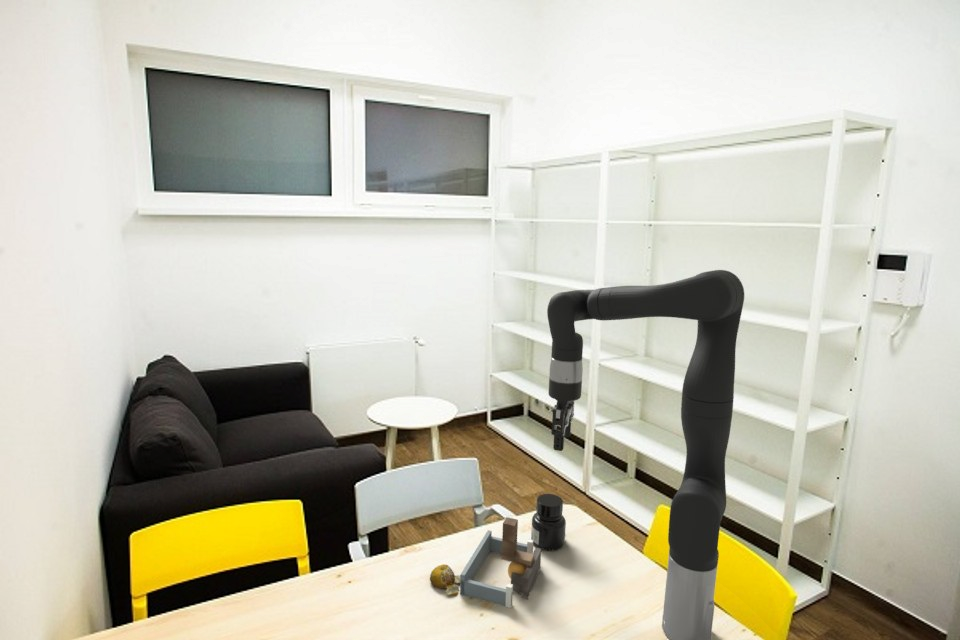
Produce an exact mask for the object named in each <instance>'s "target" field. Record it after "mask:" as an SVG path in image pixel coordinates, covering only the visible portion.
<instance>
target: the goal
mask: <svg viewBox="0 0 960 640" xmlns="http://www.w3.org/2000/svg"><path fill="white" fill-rule="evenodd" d="M517 550H518V551H522V552H527V553H531V554H533V552H534V544H533V540H531V538H530V539H529V538H528V540H527V543H523V542H519V541H517ZM490 552H494V553H497V554H502V538H500V537H497V536H493V535H492V530H490V529H489V530H486V532H485V535H484V536H483V538H482V539H481V540H480V542H479V544H478V545H477V547H476V548H475V550H474V552H473V553H472V556H471V557H470V559H469V560H468V562H467V563H466V565H465V567H464V568H463V570H462V571H461V573H460V575H459V576H460V583H459V585H460V587H459V594H460V595H461V596H465V597H469V598H473V599H475V600H476V599H477V600H480V601H484V602H488V603H491V604H496V605H498V606H503V607H504V608H505V607H506V608H508V609H511V608H512V606H513V592H514V591H513V584H511V583H508V582H507V584H506V586H505V588H503V587H499V586H496V585H492V584H487V583H484V582H481V581H477V580H476V581H475V580H474V579H475V577H476V575H477V574H478V572H479V570H480V568H481V567H482V565H483V563H484V562H485V560H486V558H487V556H488V554H489V553H490Z"/></svg>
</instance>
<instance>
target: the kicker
mask: <svg viewBox="0 0 960 640" xmlns="http://www.w3.org/2000/svg"><path fill="white" fill-rule="evenodd" d="M518 526H519V520H518V519H517V518H512V517H507V516H506V518H504V521H503V522H502V538H501V539H502V553H501V560H503V561H507V562H510V563H511V562H515V563H519V564H523V565H527V568H526V570H525V573H524V575H523V574H519V573H515V572H512V574H511V578H510V584H513V592H515V593H518V594H519V593H520V594H521V599H525V600H528V599H529V597H530V596H531V595H530V594H531V592H532V590H533V587H534V585H535V582H536V579H537V577H538V574H539V572H540V570H541V560H542V549H540V548H538V547H535V548H534V549H533V554H531V553H527V552H522V551H518V550H517V542H518V530H519V529H518V528H519V527H518Z"/></svg>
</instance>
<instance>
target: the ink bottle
mask: <svg viewBox="0 0 960 640" xmlns="http://www.w3.org/2000/svg"><path fill="white" fill-rule="evenodd" d="M563 506H564V500H563V499H562V497H561V496H559V495H557V494H553V493H543V494H540V495H539V496H537V499H536V506H535V507H536V512H535V513H534V514H533V515H532V518H531V533H530V534H531V535H530V537H531V538H530V539H531V540H533V546H534V547H535V548H540V549H541V550H544V551H549V552H550V551H551V552H552V551H557V550H560V549H562V548H563V547H564V545H565V543H566V525H567V524H566V518H565V517H564V515H563V508H564V507H563Z"/></svg>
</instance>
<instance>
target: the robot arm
mask: <svg viewBox="0 0 960 640" xmlns="http://www.w3.org/2000/svg"><path fill="white" fill-rule="evenodd" d="M744 302H745V290H744V286H743V283H742V281H741V279H740V278H739V277H738V276H737V275H736V274H735V273H733V272H731V271H729V270H726V269H715V270H709V271H703V272H700V273H698V274H696V275H692V276H690V277H687V278H684V279H681V280H676V281H672V282H669V283H663V284H662V283H661V284H655V285H620V286H618V285H617V286H609V287H600V288H596V289H578V290H577V289H575V290H569V291H562V292H557V293H555V294H553V295H552V296H551V298H550V300H549V301H548V305H547V312H546V313H547V315H546V316H547V321H548V325H549V331H550V336H551V340H552V341H551V354H550V355H551V358H550V365H549V374H548V375H549V376H548V396H549V397H550V398H551V399H554V400H555V401H556V404H555V405H553V409H552V422H551V435H553V450H554V451H558V452H562V451H563V450H564V447H565V446H564V445H565V443H564V442H565V438H570V437H571V431H572V430H571V429H572V421H573V418H574V416H575V401H578V400H579V399H580V398H581V397H582V389H583V388H582V384H583V368H584V367H583V353H584V352H583V349H584V339H583V336H582V335H581V334H580V333H578V332H577V331H576V327H575V322H579V321H580V322H581V321H585V320H586V321H587V320H596V321H616V320H617V321H620V320H632V319H633V320H634V319H640V318H641V319H642V318H644V319H645V318H655V317H656V318H677V319H685V320H694V321H697V332H696V333H697V334H696V341H695V345H694V349H693V352H692V355H691V356H690V357H691V358H690V361H689V364H688V366H687V368H686V369H687V370H686V371H685V376H684V379H683V383H682V390H681V392H682V393H681V407H680V419H681V427H682V433H683V437H684V441H685V447H686V448H685V449H686V456H685V457H686V458H685V466H684V471H683V478H682V481H681V484H680V486H679V488H678V490H677V491H676V493H675V494H674V496H673V498H672V500H671V503H670V509H669V520H668V533H667V534H668V535H667V542H668V548H669V549H668V560H667V571H666V580H665V589H664V590H665V592H664V602H663V612H662V613H663V614H662V621H661V622H662V624H661V628H662V630H663V631H662V632H663V633H664V634H665V636H666V637H667V638H668V639H669V640H711V639H712V630H713V622H714V614H715V613H714V612H715V598H714V597H715V590H716V583H717V582H716V581H717V573H718V563H719V558H720V557H719V555H720V554H719V549H718V547H719V538H720V537H719V536H720V529H721V522H722V520H723V516H724V514H725V512H726V508H727V488H726V487H727V485H726V455H727V450H728V445H729V441H730V440H729V439H730V434H731V427H732V419H733V409H734V399H735V398H734V397H735V396H734V395H735V394H734V393H735V392H734V391H735V375H736V347H737V338H738V333H739V327H740V323H741V322H740V321H741V317H742V311H743V307H744V304H745V303H744ZM558 426H560V429H557V428H558Z"/></svg>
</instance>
